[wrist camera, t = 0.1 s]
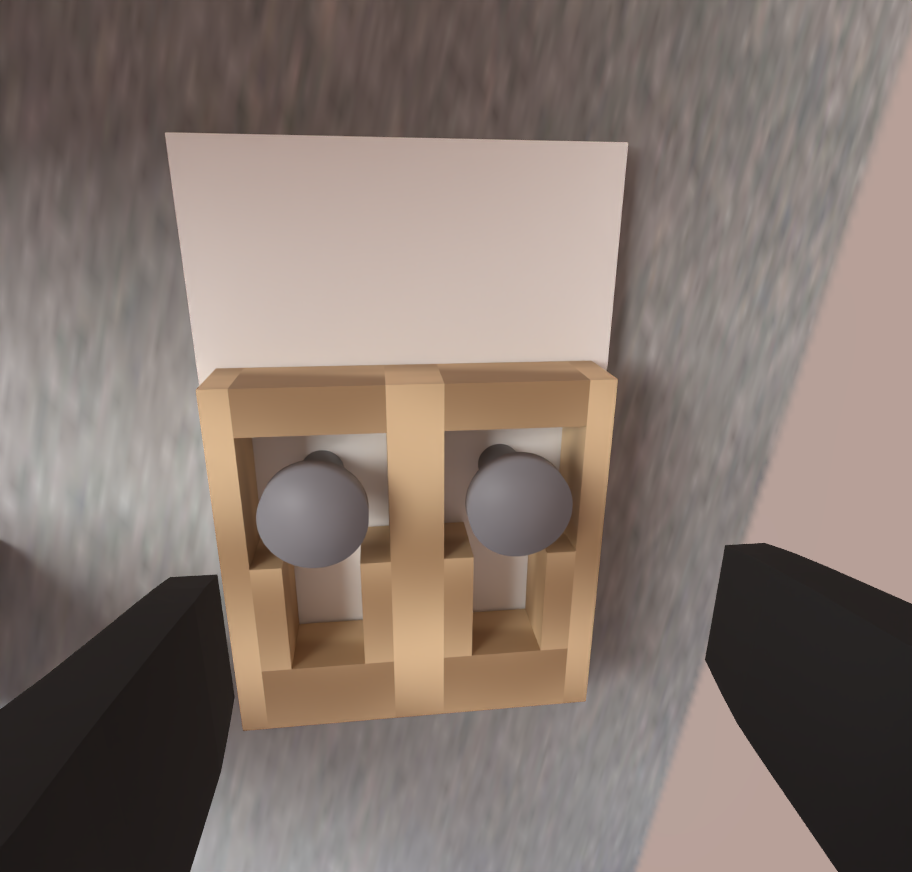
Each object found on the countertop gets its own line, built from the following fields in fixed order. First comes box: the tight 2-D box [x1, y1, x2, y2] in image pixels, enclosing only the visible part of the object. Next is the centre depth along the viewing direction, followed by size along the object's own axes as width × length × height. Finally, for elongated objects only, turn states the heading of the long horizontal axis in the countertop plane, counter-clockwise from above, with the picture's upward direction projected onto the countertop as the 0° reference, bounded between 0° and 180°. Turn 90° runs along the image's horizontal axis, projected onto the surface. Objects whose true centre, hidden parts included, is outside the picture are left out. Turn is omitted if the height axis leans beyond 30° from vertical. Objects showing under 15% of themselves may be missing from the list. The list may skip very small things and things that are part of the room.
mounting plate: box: [165, 132, 628, 624], centre depth 17 cm, size 17×11×4 cm, turn 179°
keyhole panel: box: [196, 361, 618, 731], centre depth 18 cm, size 10×10×2 cm
